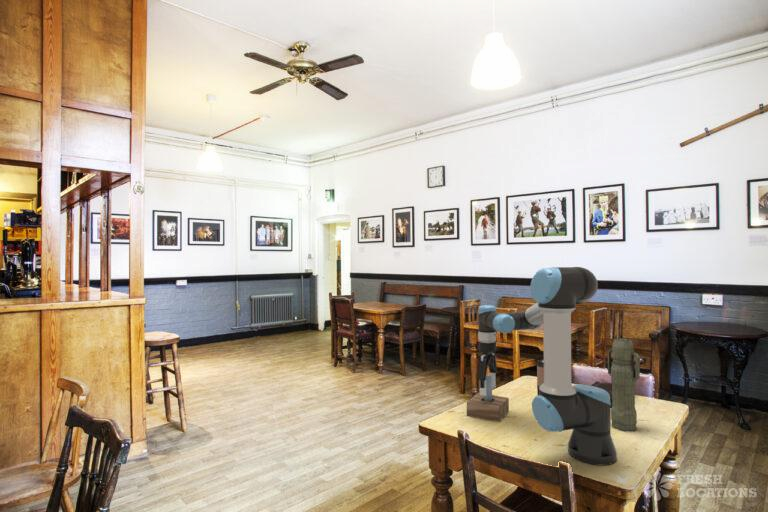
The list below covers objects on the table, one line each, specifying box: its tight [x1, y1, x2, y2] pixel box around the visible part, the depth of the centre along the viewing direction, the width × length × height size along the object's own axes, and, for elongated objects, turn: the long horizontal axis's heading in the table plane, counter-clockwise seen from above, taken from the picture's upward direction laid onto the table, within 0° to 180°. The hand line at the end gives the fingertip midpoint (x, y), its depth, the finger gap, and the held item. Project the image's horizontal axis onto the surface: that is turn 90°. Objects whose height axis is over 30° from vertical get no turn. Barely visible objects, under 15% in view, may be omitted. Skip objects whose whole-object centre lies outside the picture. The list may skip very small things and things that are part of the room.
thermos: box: [606, 337, 641, 432], centre depth 171 cm, size 9×12×35 cm
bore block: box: [466, 392, 510, 423], centre depth 187 cm, size 14×14×6 cm
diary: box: [590, 380, 612, 408], centre depth 204 cm, size 19×25×5 cm
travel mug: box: [536, 358, 544, 396], centre depth 198 cm, size 8×8×20 cm
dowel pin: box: [484, 375, 493, 402], centre depth 187 cm, size 4×4×14 cm
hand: (487, 391), depth 187 cm, fingers open, 11 cm apart
